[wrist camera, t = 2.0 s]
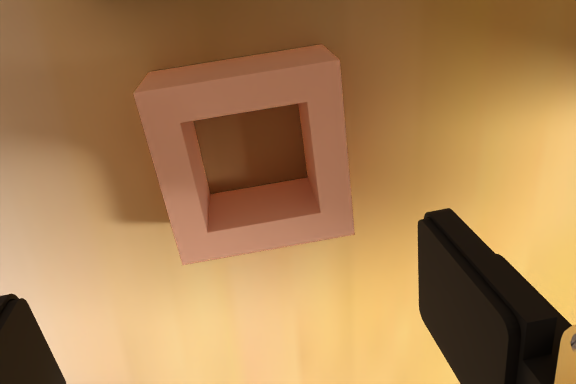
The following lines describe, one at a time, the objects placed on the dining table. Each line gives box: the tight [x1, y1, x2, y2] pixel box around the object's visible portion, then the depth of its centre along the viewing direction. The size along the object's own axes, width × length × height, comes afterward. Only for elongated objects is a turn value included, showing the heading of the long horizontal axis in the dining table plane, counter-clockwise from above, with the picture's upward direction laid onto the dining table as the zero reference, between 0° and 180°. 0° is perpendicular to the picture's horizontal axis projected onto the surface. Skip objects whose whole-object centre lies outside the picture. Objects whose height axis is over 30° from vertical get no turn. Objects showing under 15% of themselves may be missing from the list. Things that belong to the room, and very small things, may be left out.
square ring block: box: [133, 44, 355, 265], centre depth 19 cm, size 7×7×4 cm
